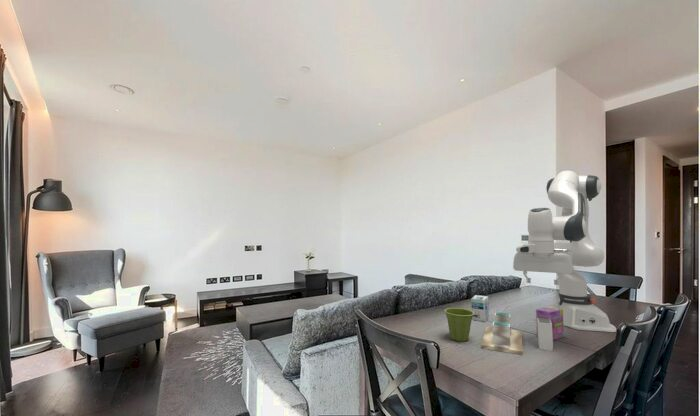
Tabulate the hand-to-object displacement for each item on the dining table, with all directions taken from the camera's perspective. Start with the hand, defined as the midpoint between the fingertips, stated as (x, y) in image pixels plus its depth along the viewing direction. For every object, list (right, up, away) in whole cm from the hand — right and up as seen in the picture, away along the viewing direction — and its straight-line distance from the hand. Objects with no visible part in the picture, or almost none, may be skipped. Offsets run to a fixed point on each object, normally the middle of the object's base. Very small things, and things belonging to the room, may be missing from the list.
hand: (542, 283), depth 124 cm
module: (0, -24, -2) cm, 24 cm away
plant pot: (-30, -25, +7) cm, 40 cm away
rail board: (-13, -25, +5) cm, 29 cm away
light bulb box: (-9, -27, +37) cm, 47 cm away
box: (+9, -25, +9) cm, 28 cm away
